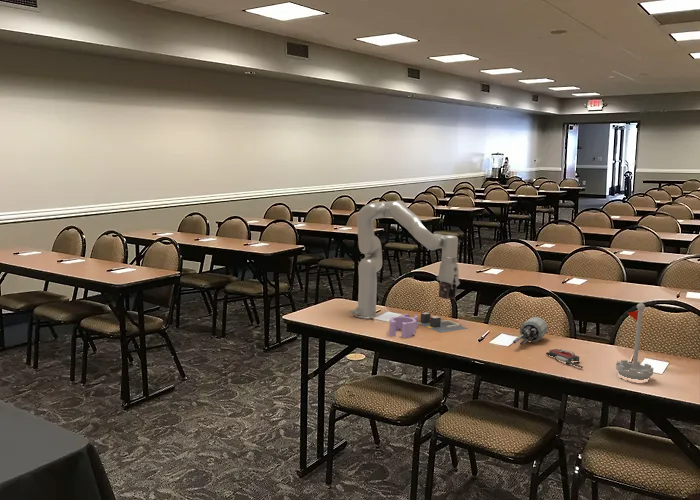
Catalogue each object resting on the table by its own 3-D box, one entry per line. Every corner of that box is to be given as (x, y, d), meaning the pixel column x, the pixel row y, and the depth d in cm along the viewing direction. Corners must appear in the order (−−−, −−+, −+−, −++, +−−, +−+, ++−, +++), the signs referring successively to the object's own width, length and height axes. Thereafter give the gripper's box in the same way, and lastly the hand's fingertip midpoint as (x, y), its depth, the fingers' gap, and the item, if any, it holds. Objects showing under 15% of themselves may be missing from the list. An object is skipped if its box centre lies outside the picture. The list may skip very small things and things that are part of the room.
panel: (440, 335, 282) (440, 331, 282) (414, 325, 298) (414, 321, 298) (468, 330, 292) (468, 326, 291) (441, 321, 308) (441, 317, 308)
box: (438, 296, 299) (439, 282, 298) (448, 296, 301) (448, 281, 300) (445, 299, 293) (446, 284, 292) (455, 298, 296) (456, 284, 295)
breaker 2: (434, 327, 290) (434, 318, 290) (430, 325, 293) (430, 316, 292) (440, 326, 293) (440, 317, 292) (436, 324, 295) (436, 315, 295)
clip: (399, 326, 296) (400, 312, 295) (423, 329, 291) (424, 316, 290) (384, 335, 278) (384, 321, 277) (409, 339, 273) (410, 325, 272)
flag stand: (658, 380, 230) (667, 305, 226) (640, 386, 222) (649, 308, 218) (626, 370, 240) (634, 298, 236) (608, 376, 233) (616, 301, 229)
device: (526, 334, 289) (527, 314, 287) (547, 338, 284) (548, 318, 282) (507, 350, 263) (509, 328, 261) (530, 355, 258) (532, 332, 256)
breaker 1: (424, 323, 298) (424, 314, 297) (420, 321, 300) (420, 312, 300) (430, 322, 300) (430, 313, 300) (426, 320, 303) (426, 312, 302)
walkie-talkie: (541, 356, 255) (580, 371, 238) (542, 347, 255) (581, 360, 237) (556, 354, 260) (594, 368, 242) (557, 344, 259) (595, 358, 242)
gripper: (467, 262, 290) (464, 298, 292) (442, 257, 304) (440, 291, 306) (455, 263, 286) (453, 299, 288) (431, 258, 300) (429, 292, 302)
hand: (447, 295), depth 297 cm, fingers closed on box, 6 cm apart
